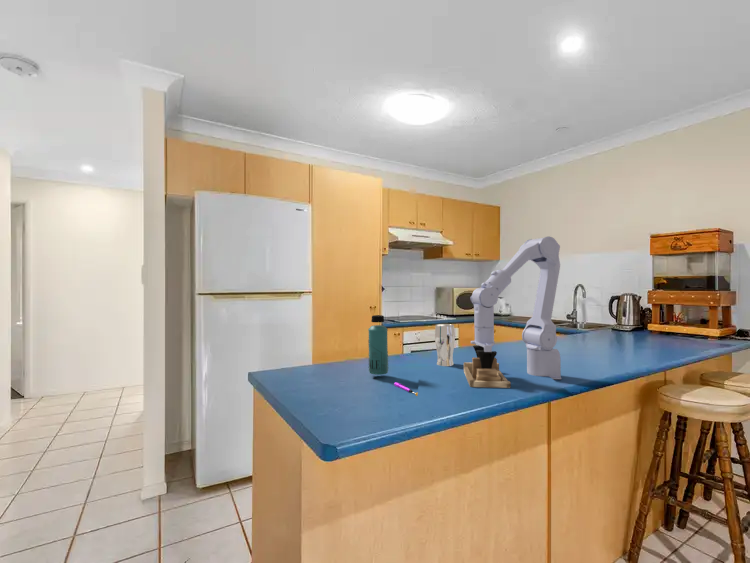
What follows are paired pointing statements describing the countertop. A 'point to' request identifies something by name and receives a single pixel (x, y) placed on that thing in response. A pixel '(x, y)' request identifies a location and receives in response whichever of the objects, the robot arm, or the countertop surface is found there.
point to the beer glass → (445, 344)
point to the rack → (491, 384)
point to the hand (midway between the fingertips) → (484, 371)
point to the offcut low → (488, 378)
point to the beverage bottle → (378, 347)
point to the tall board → (477, 365)
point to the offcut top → (486, 372)
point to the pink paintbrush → (404, 388)
